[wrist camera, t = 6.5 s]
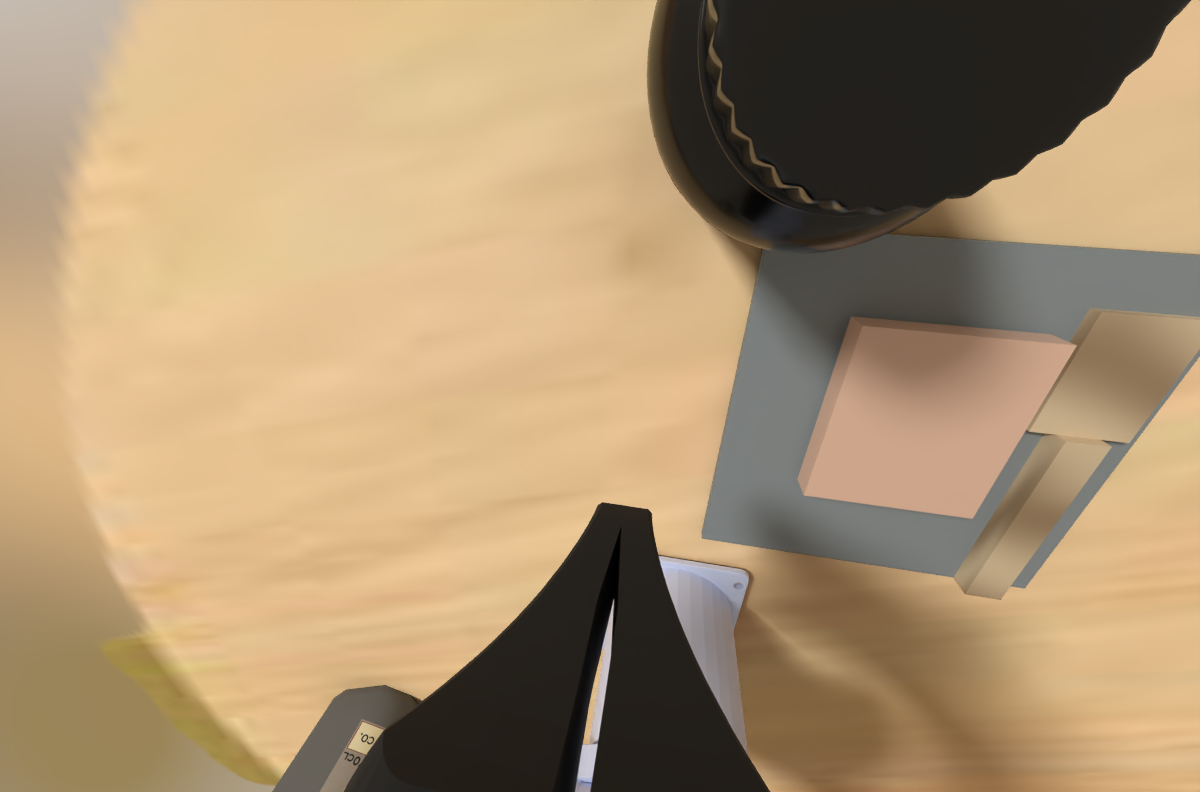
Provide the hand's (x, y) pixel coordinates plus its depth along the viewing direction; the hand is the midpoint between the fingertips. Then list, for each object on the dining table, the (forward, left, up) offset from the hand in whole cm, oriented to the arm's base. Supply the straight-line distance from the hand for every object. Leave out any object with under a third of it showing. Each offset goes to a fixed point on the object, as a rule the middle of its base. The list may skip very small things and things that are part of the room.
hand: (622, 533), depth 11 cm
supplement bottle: (+11, -3, -10) cm, 15 cm away
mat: (-1, -12, -10) cm, 16 cm away
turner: (-2, -17, -10) cm, 20 cm away
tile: (0, -8, -9) cm, 12 cm away
